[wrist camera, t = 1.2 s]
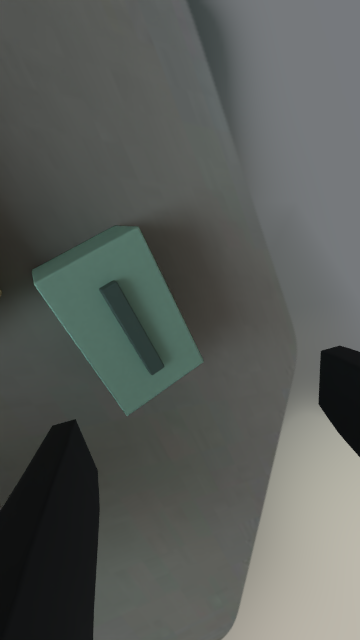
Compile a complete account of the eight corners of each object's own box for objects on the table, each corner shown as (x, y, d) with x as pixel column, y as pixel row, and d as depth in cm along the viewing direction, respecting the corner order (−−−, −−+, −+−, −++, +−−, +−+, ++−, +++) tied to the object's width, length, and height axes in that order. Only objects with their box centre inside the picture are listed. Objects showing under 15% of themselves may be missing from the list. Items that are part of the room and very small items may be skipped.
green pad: (108, 382, 20) (130, 422, 16) (30, 270, 16) (33, 285, 12) (174, 338, 21) (209, 365, 17) (115, 224, 17) (142, 225, 13)
